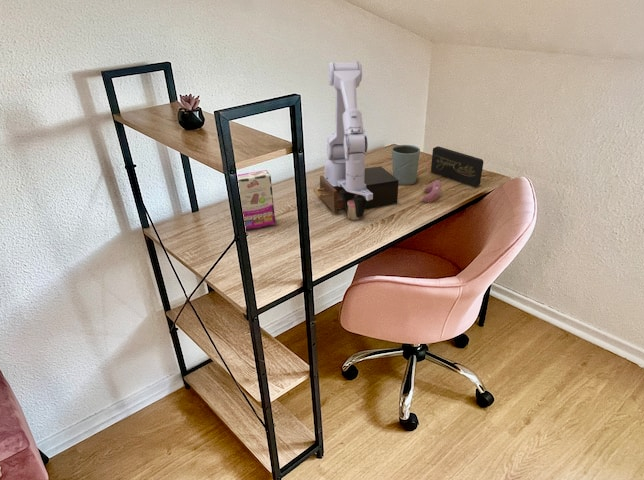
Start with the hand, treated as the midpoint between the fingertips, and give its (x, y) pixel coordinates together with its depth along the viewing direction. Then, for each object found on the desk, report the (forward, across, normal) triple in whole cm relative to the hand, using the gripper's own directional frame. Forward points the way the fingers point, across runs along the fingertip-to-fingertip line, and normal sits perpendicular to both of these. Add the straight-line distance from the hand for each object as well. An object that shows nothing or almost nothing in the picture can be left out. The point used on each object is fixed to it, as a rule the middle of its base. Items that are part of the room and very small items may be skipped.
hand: (354, 213), depth 156 cm
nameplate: (+1, +1, -50) cm, 50 cm away
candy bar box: (+1, +15, +27) cm, 31 cm away
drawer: (+1, +11, -2) cm, 11 cm away
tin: (+1, 0, 0) cm, 1 cm away
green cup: (+1, +12, -34) cm, 36 cm away
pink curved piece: (+1, -5, -30) cm, 31 cm away
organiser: (+1, +7, -13) cm, 15 cm away
